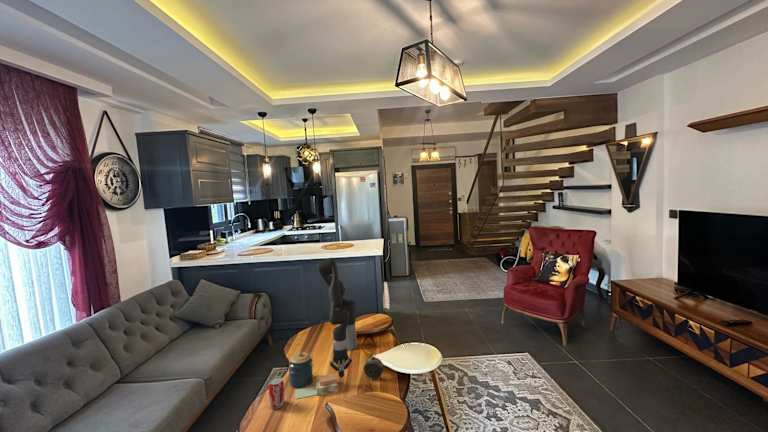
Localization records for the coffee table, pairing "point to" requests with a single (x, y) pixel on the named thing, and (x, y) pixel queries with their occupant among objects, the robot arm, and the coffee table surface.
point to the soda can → (276, 392)
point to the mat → (305, 392)
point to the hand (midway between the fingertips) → (341, 376)
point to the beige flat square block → (325, 388)
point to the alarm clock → (373, 367)
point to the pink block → (328, 379)
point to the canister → (300, 370)
